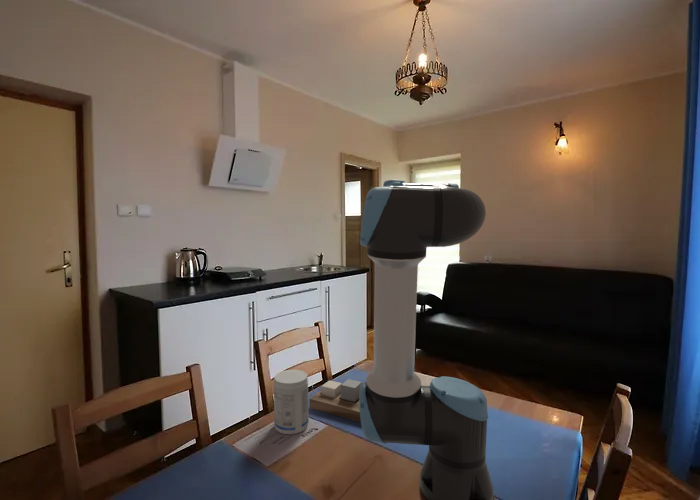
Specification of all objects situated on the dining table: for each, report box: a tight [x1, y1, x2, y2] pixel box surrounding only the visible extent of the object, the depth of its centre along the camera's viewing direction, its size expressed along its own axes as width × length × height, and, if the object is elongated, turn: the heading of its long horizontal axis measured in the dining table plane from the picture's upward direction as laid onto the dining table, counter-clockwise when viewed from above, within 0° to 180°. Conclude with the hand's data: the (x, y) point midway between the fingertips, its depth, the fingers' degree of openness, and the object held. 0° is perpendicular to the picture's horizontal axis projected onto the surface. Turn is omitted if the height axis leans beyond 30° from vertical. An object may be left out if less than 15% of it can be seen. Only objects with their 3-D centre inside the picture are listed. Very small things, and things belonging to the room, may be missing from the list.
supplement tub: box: [273, 369, 309, 435], centre depth 102 cm, size 10×10×15 cm
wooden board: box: [309, 388, 361, 423], centre depth 114 cm, size 14×22×3 cm, turn 64°
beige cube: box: [321, 380, 343, 398], centre depth 117 cm, size 5×5×4 cm
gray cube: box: [341, 378, 363, 403], centre depth 114 cm, size 5×5×4 cm
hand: (392, 299), depth 121 cm, fingers closed
